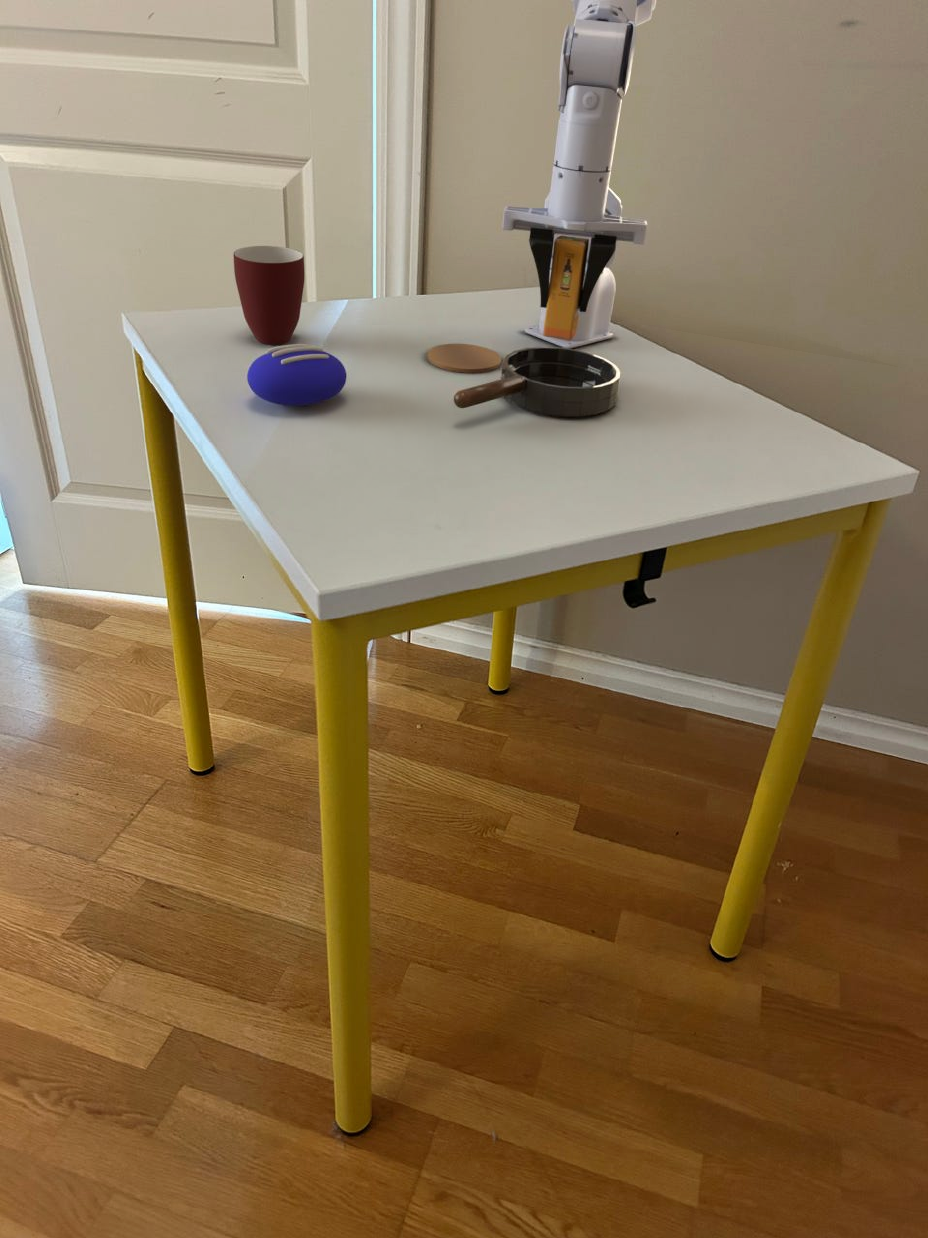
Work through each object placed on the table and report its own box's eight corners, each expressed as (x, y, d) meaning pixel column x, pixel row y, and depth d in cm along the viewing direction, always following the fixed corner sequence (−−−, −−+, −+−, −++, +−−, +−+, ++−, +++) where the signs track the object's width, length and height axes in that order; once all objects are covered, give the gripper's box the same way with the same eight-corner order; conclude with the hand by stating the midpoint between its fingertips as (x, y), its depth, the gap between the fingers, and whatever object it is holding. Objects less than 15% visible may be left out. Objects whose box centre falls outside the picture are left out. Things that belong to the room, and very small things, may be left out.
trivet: (466, 342, 113) (466, 338, 112) (516, 364, 107) (516, 360, 107) (412, 355, 107) (412, 351, 107) (462, 378, 102) (462, 374, 102)
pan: (553, 368, 107) (557, 339, 105) (637, 403, 100) (643, 373, 98) (476, 389, 100) (479, 359, 98) (561, 429, 92) (566, 397, 90)
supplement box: (577, 333, 97) (592, 237, 92) (570, 342, 95) (585, 243, 89) (548, 327, 98) (561, 232, 92) (541, 336, 95) (553, 238, 90)
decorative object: (326, 318, 95) (361, 361, 89) (326, 367, 99) (360, 412, 93) (229, 329, 91) (258, 376, 85) (234, 381, 95) (262, 429, 89)
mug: (249, 321, 113) (243, 238, 107) (312, 325, 114) (310, 243, 108) (233, 348, 105) (226, 260, 99) (302, 352, 105) (299, 265, 99)
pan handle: (516, 387, 96) (518, 371, 94) (528, 392, 95) (530, 376, 93) (449, 406, 90) (450, 389, 89) (461, 412, 89) (462, 395, 88)
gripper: (505, 165, 84) (492, 310, 92) (658, 181, 83) (631, 325, 91) (511, 154, 90) (498, 291, 98) (654, 169, 89) (629, 306, 97)
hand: (562, 307), depth 95 cm, fingers closed on supplement box, 3 cm apart
